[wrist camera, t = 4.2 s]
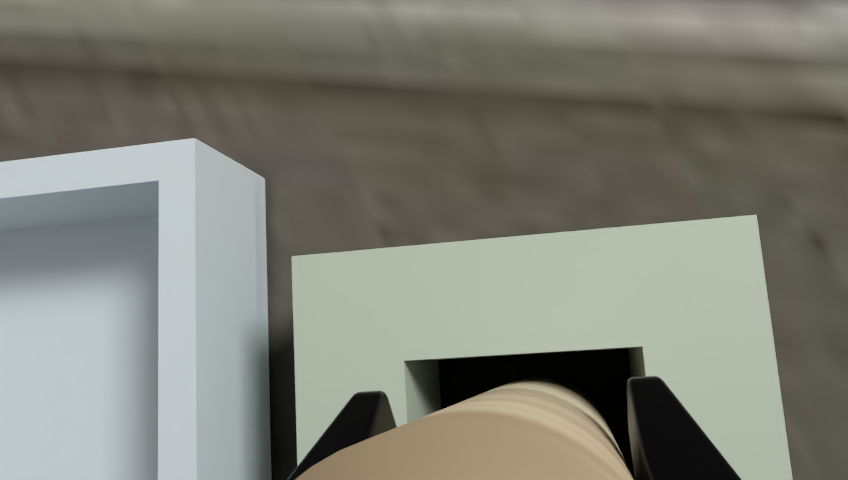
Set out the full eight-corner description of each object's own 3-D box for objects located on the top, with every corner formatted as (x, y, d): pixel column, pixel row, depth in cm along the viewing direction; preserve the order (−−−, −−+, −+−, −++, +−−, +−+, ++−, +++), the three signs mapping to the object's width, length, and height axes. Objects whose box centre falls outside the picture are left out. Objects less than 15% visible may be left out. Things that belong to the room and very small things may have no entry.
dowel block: (771, 663, 15) (830, 756, 11) (361, 657, 16) (305, 737, 13) (718, 244, 16) (756, 214, 13) (346, 275, 18) (291, 256, 14)
